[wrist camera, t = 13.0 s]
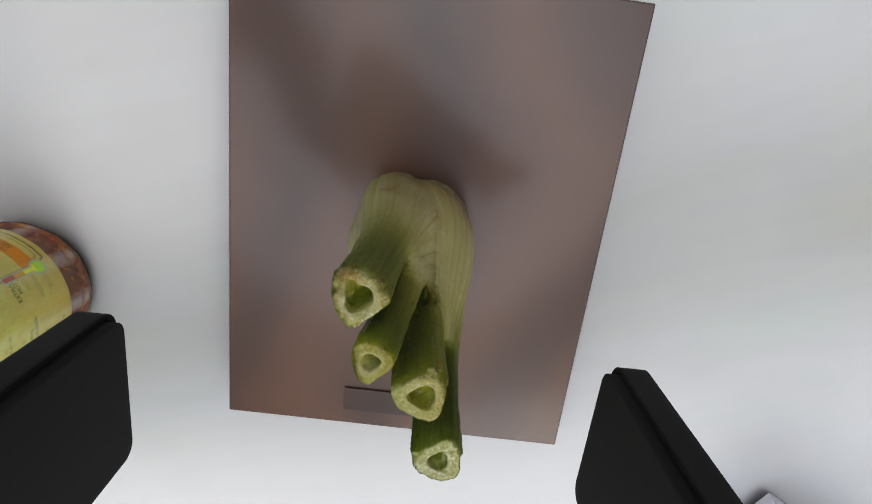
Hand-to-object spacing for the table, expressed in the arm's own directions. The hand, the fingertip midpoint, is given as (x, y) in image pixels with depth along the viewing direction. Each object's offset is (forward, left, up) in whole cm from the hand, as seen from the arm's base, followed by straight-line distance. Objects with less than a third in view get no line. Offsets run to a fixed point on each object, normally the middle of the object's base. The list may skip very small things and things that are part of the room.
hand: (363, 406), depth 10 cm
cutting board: (0, 0, -15) cm, 15 cm away
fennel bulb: (0, 0, -13) cm, 13 cm away
